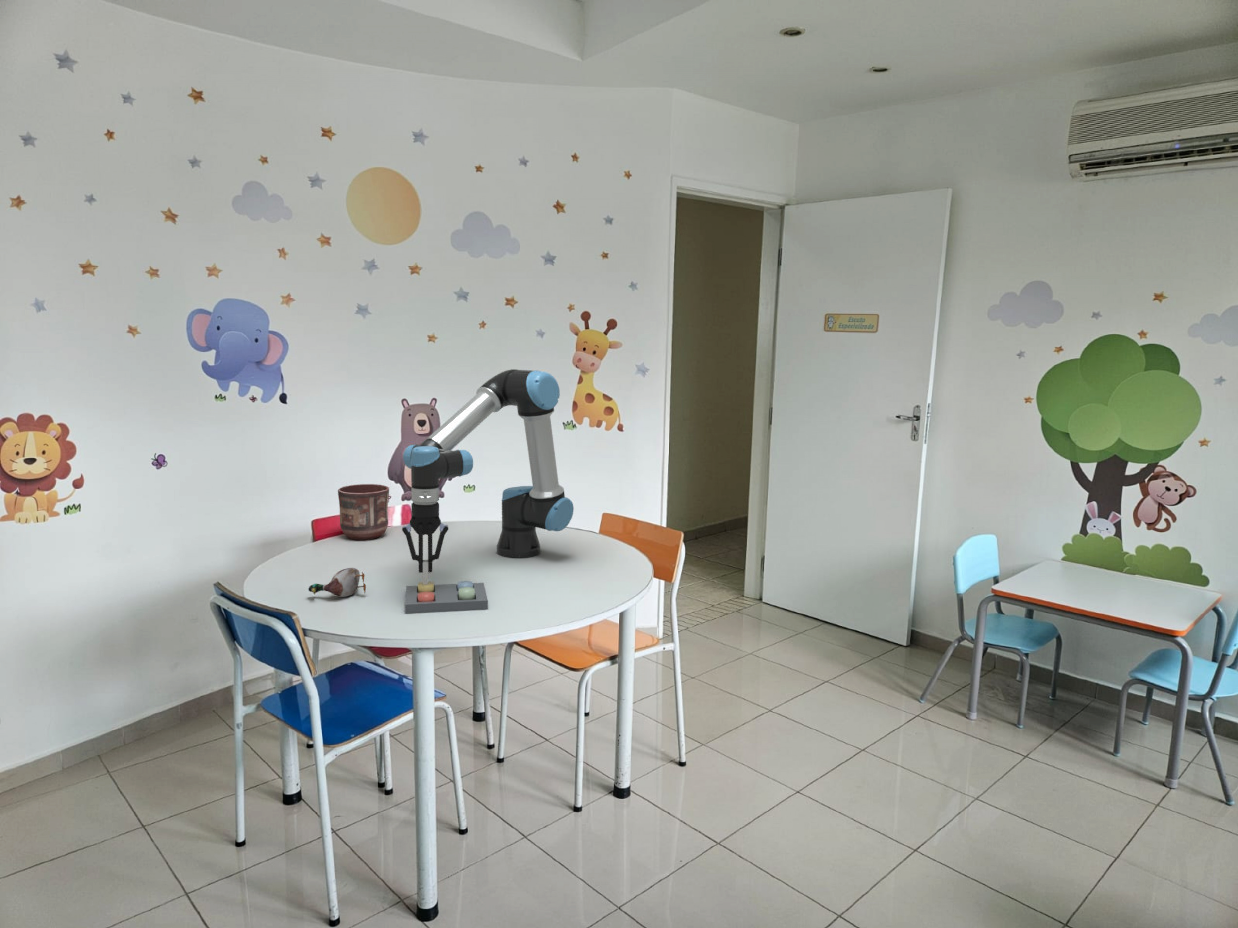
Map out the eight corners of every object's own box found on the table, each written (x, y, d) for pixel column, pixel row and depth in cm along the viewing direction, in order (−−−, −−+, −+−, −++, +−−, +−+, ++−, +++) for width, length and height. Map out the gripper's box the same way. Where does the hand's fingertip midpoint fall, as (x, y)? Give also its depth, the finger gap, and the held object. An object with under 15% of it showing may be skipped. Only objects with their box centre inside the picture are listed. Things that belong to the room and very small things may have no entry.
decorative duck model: (303, 580, 215) (316, 563, 229) (307, 606, 216) (320, 587, 231) (359, 575, 216) (369, 558, 231) (362, 601, 218) (372, 582, 233)
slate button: (472, 591, 228) (472, 580, 228) (473, 596, 224) (473, 585, 224) (457, 592, 227) (457, 581, 227) (457, 597, 223) (457, 585, 222)
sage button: (474, 597, 221) (474, 586, 220) (475, 603, 216) (475, 591, 216) (458, 598, 219) (458, 587, 219) (459, 603, 215) (459, 592, 215)
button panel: (483, 590, 231) (483, 582, 231) (487, 609, 216) (487, 600, 215) (406, 594, 226) (406, 585, 225) (405, 613, 210) (405, 604, 210)
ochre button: (433, 592, 226) (433, 581, 225) (434, 597, 221) (433, 585, 221) (418, 592, 225) (418, 581, 224) (418, 597, 220) (417, 586, 220)
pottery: (381, 543, 278) (380, 494, 275) (332, 541, 278) (330, 492, 275) (395, 531, 295) (395, 484, 293) (349, 529, 296) (348, 483, 293)
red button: (434, 602, 218) (434, 591, 217) (434, 607, 214) (434, 596, 213) (417, 603, 217) (417, 591, 216) (417, 608, 213) (417, 597, 212)
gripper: (400, 505, 213) (401, 588, 217) (449, 504, 217) (449, 586, 220) (401, 499, 221) (402, 580, 224) (448, 498, 224) (448, 578, 227)
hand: (425, 583), depth 222 cm, fingers closed
